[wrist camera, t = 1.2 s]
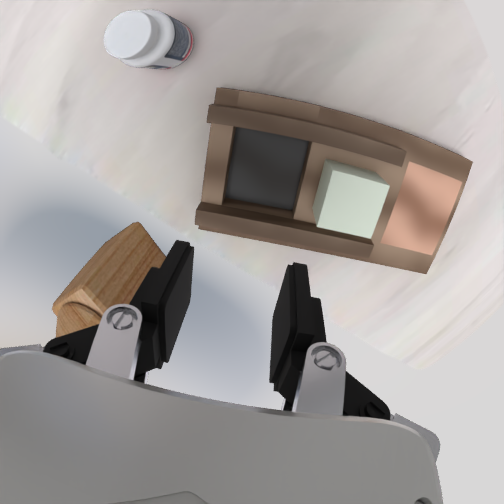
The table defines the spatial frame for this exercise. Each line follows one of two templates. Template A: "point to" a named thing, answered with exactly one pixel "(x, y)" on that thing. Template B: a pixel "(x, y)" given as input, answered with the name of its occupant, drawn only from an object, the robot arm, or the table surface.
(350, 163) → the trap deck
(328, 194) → the sage block
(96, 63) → the table surface
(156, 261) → the decorative item
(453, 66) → the table surface
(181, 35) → the pill bottle
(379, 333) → the table surface
